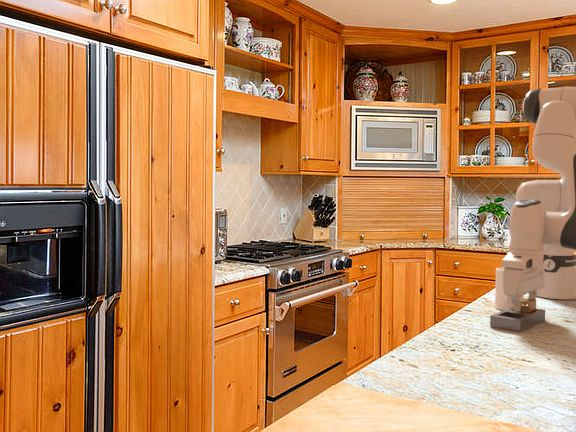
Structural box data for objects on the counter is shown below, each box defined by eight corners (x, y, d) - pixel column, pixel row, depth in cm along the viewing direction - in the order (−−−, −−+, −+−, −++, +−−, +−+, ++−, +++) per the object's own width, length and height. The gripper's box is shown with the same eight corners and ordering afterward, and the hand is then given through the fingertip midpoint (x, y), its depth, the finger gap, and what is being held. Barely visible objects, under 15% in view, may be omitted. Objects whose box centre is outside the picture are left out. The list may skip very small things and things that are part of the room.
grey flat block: (516, 315, 159) (516, 305, 159) (545, 320, 154) (545, 309, 153) (490, 326, 147) (490, 315, 147) (520, 332, 142) (520, 321, 141)
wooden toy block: (519, 318, 156) (520, 297, 156) (535, 321, 153) (536, 299, 153) (512, 321, 153) (513, 299, 153) (529, 324, 150) (530, 302, 150)
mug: (520, 315, 160) (521, 274, 159) (489, 311, 164) (490, 271, 163) (526, 306, 170) (527, 268, 169) (497, 303, 174) (498, 266, 173)
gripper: (529, 253, 162) (527, 300, 163) (498, 261, 147) (497, 312, 148) (551, 256, 157) (550, 303, 158) (522, 264, 143) (521, 316, 144)
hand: (524, 308), depth 153 cm, fingers open, 8 cm apart
